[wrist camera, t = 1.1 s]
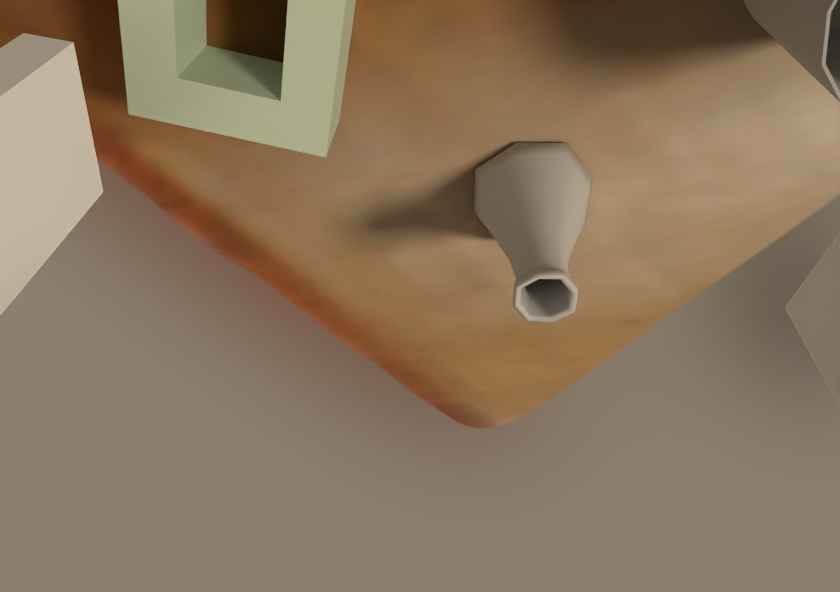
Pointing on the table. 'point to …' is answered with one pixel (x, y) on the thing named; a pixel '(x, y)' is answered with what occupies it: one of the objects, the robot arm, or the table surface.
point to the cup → (805, 34)
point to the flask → (536, 221)
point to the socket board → (238, 73)
